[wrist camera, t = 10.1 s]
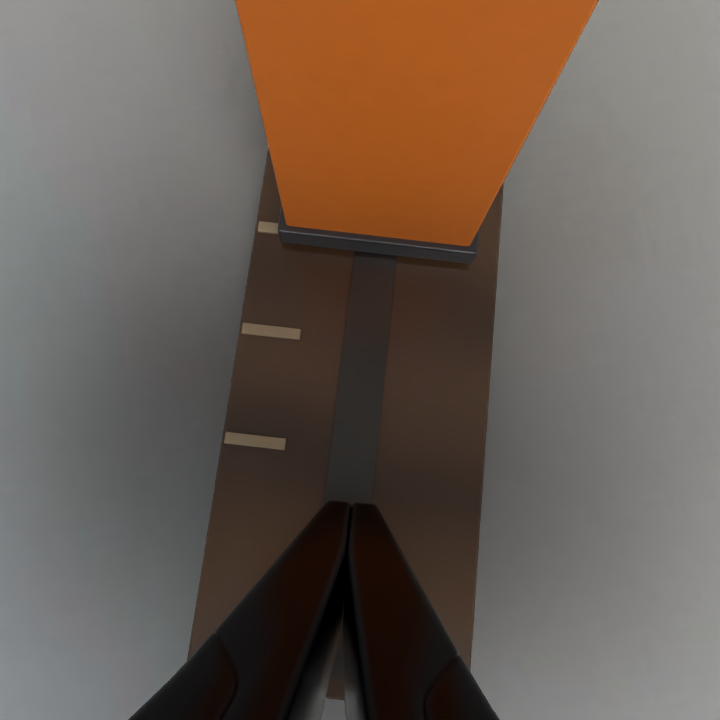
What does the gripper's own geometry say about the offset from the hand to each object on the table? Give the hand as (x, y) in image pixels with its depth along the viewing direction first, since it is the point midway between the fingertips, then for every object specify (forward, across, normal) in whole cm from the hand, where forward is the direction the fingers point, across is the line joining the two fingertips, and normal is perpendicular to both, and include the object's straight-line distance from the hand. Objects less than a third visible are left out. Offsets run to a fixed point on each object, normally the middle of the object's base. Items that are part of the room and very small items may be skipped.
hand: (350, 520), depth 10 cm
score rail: (+9, 0, -1) cm, 9 cm away
